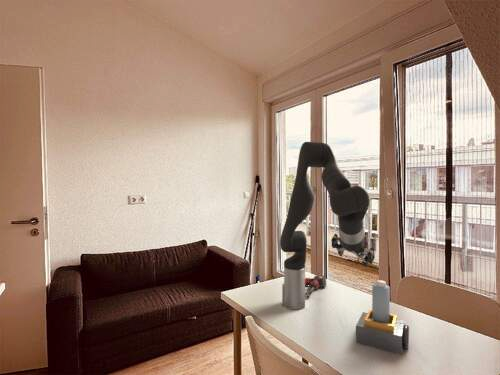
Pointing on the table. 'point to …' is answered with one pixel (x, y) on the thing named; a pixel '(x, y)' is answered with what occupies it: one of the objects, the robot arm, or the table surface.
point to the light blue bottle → (381, 302)
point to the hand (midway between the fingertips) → (353, 259)
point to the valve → (314, 284)
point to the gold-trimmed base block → (382, 333)
